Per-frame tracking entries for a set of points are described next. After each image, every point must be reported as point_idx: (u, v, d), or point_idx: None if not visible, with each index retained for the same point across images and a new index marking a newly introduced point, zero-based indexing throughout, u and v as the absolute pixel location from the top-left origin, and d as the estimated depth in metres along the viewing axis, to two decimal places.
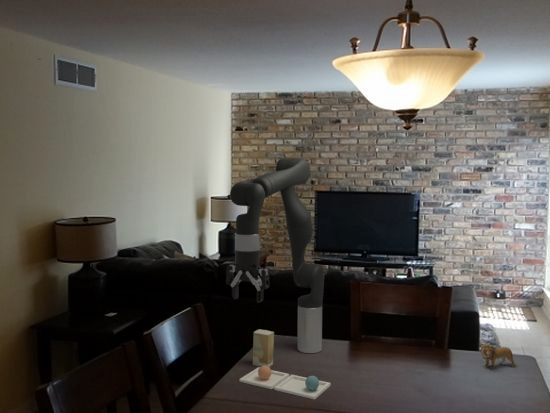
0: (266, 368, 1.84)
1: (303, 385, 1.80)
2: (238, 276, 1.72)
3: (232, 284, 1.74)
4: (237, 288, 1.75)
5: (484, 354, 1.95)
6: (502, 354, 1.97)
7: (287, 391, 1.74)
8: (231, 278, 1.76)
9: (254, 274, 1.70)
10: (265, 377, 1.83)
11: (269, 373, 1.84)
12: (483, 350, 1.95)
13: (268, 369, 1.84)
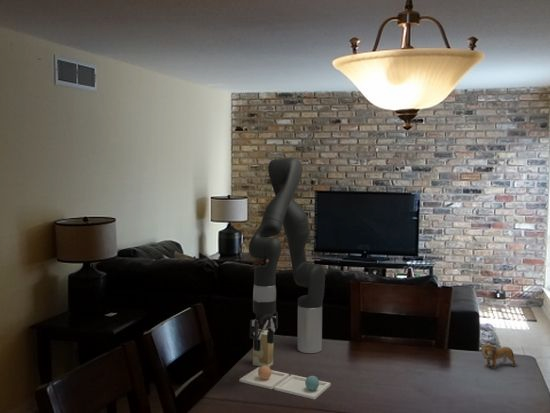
0: (266, 368, 1.84)
1: (303, 385, 1.80)
2: (265, 326, 1.81)
3: (259, 337, 1.79)
4: None
5: (485, 354, 1.95)
6: (503, 354, 1.98)
7: (287, 391, 1.74)
8: (251, 333, 1.79)
9: None
10: (265, 377, 1.83)
11: (269, 373, 1.84)
12: (484, 350, 1.95)
13: (268, 369, 1.84)
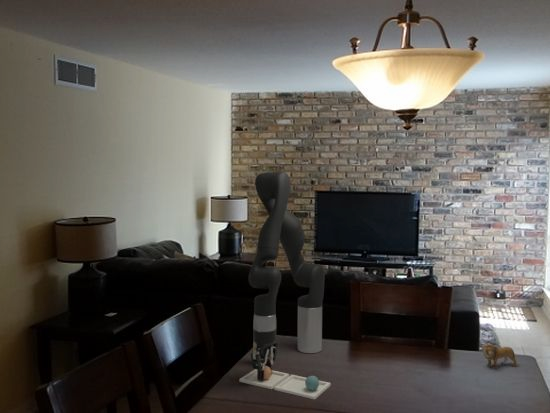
0: (266, 368, 1.84)
1: (303, 385, 1.80)
2: (266, 356, 1.82)
3: (263, 367, 1.82)
4: None
5: (486, 354, 1.95)
6: (504, 354, 1.98)
7: (287, 391, 1.74)
8: (255, 364, 1.81)
9: None
10: (265, 377, 1.83)
11: (269, 373, 1.84)
12: (485, 350, 1.95)
13: (268, 369, 1.84)
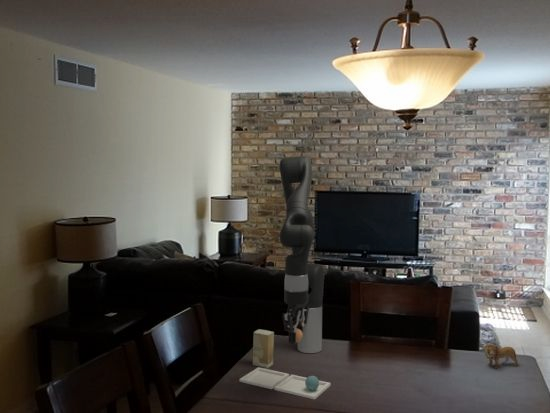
0: (297, 330, 1.77)
1: (303, 385, 1.80)
2: (298, 317, 1.75)
3: (295, 329, 1.75)
4: None
5: (488, 354, 1.95)
6: (505, 353, 1.98)
7: (287, 391, 1.74)
8: (286, 326, 1.74)
9: None
10: (296, 340, 1.76)
11: (301, 336, 1.77)
12: (487, 350, 1.96)
13: (299, 331, 1.77)
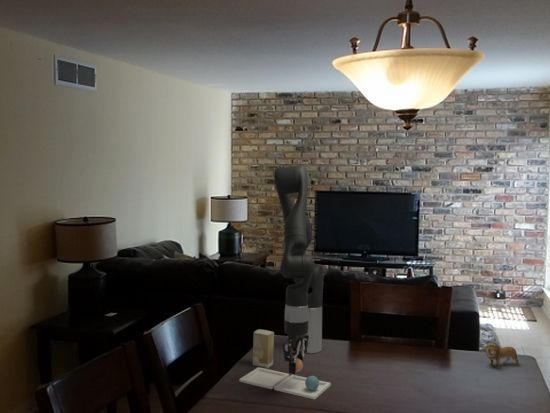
0: (298, 360, 1.78)
1: (303, 385, 1.80)
2: (298, 347, 1.76)
3: (295, 360, 1.75)
4: None
5: (489, 353, 1.96)
6: (506, 353, 1.98)
7: (287, 391, 1.74)
8: (286, 356, 1.75)
9: None
10: (297, 370, 1.77)
11: (301, 366, 1.77)
12: (488, 349, 1.96)
13: (300, 362, 1.78)
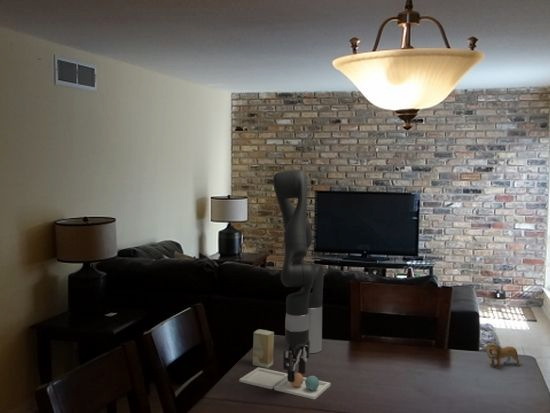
0: (298, 375, 1.78)
1: (303, 385, 1.80)
2: (298, 356, 1.76)
3: (294, 368, 1.75)
4: None
5: (490, 353, 1.96)
6: (507, 353, 1.98)
7: (287, 391, 1.74)
8: (285, 364, 1.74)
9: None
10: (297, 385, 1.78)
11: (301, 380, 1.78)
12: (489, 349, 1.96)
13: (300, 376, 1.78)
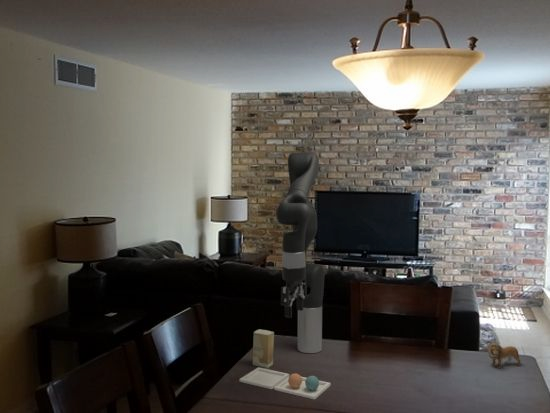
0: (296, 379, 1.77)
1: (303, 385, 1.80)
2: (295, 293, 1.79)
3: (291, 303, 1.77)
4: None
5: (491, 353, 1.96)
6: (508, 353, 1.98)
7: (287, 391, 1.74)
8: (283, 300, 1.77)
9: None
10: (297, 387, 1.77)
11: (300, 382, 1.77)
12: (490, 349, 1.96)
13: (298, 379, 1.77)
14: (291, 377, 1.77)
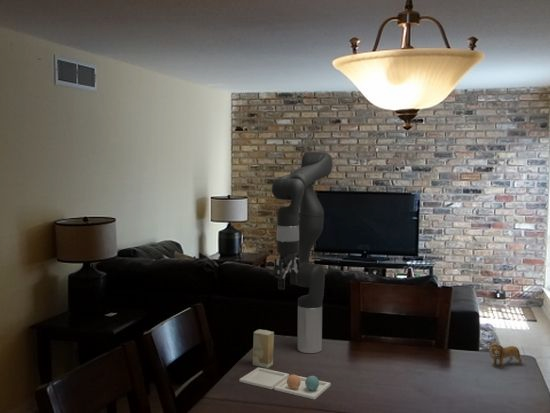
0: (294, 383, 1.75)
1: (303, 385, 1.80)
2: (289, 266, 1.84)
3: (284, 276, 1.83)
4: None
5: (492, 353, 1.96)
6: (510, 353, 1.99)
7: (287, 391, 1.74)
8: (276, 272, 1.82)
9: None
10: None
11: (299, 384, 1.76)
12: (491, 349, 1.96)
13: (296, 382, 1.76)
14: (289, 381, 1.76)
